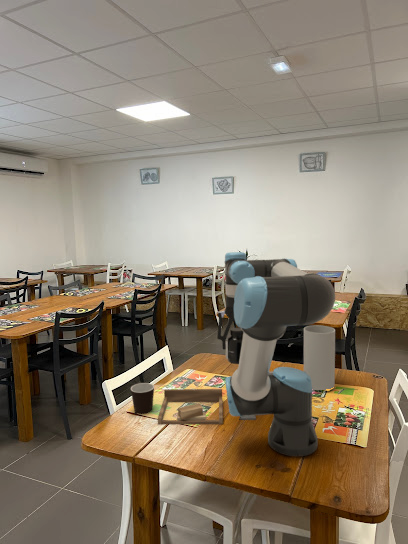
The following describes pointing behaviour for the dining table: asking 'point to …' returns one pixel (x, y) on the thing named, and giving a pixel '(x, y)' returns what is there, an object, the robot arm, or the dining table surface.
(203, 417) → the offcut lower
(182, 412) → the offcut upper
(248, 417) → the mat
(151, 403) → the coffee mug
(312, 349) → the cylinder vase
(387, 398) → the dining table surface
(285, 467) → the dining table surface
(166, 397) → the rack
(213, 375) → the dining table surface
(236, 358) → the supplement bottle
